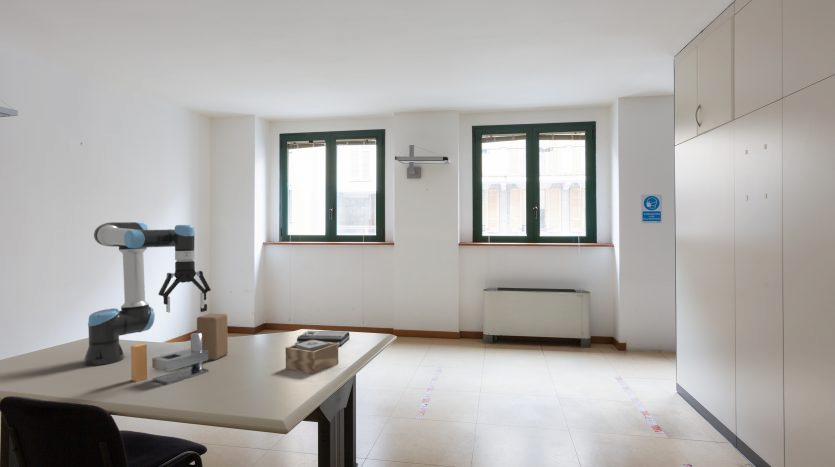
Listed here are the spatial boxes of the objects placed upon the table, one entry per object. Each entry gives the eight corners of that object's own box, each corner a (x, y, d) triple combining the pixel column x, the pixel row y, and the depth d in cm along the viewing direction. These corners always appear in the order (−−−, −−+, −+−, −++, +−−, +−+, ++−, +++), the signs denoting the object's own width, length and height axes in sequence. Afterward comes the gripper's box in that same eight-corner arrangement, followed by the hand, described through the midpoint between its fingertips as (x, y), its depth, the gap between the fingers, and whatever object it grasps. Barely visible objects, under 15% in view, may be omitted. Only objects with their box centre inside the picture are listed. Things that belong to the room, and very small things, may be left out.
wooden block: (215, 360, 209) (214, 317, 209) (196, 359, 211) (195, 317, 211) (228, 354, 219) (228, 313, 219) (210, 353, 221) (209, 313, 221)
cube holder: (285, 368, 197) (285, 347, 197) (311, 358, 211) (311, 339, 210) (313, 373, 189) (313, 352, 189) (338, 363, 203) (338, 343, 202)
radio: (349, 330, 249) (338, 338, 229) (349, 339, 249) (338, 349, 229) (306, 329, 252) (292, 337, 232) (307, 338, 252) (292, 348, 232)
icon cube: (296, 366, 199) (295, 344, 199) (315, 361, 206) (314, 339, 206) (309, 371, 192) (308, 348, 192) (328, 366, 200) (328, 343, 199)
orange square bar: (131, 380, 183) (130, 345, 183) (141, 377, 187) (141, 343, 186) (136, 381, 181) (136, 346, 181) (147, 378, 185) (146, 344, 184)
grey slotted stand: (152, 380, 183) (152, 340, 182) (194, 368, 198) (193, 331, 198) (167, 384, 178) (166, 343, 177) (208, 371, 193) (208, 334, 193)
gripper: (154, 262, 184) (155, 314, 184) (217, 259, 201) (218, 307, 201) (149, 261, 189) (150, 312, 189) (211, 258, 206) (212, 305, 206)
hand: (185, 309), depth 195 cm, fingers open, 13 cm apart
